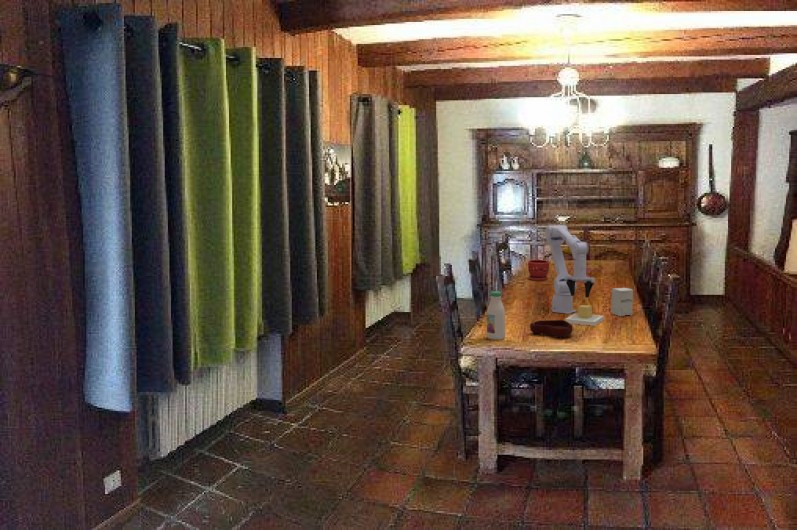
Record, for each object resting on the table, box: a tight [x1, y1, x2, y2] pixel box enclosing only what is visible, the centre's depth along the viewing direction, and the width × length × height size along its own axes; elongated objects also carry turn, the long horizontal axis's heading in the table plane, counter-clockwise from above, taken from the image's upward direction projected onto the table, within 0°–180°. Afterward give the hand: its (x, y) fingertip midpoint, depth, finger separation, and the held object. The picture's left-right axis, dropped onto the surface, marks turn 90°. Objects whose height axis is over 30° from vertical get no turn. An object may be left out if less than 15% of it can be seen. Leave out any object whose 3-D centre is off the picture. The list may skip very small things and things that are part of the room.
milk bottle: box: [486, 290, 506, 341], centre depth 306 cm, size 8×8×20 cm
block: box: [577, 304, 593, 319], centre depth 333 cm, size 5×5×5 cm
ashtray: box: [529, 319, 574, 339], centre depth 312 cm, size 18×16×5 cm
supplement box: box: [610, 287, 634, 317], centre depth 346 cm, size 7×7×13 cm
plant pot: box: [527, 259, 550, 282], centre depth 453 cm, size 13×13×12 cm
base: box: [564, 312, 605, 327], centre depth 334 cm, size 14×14×2 cm
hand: (579, 296), depth 340 cm, fingers open, 7 cm apart
